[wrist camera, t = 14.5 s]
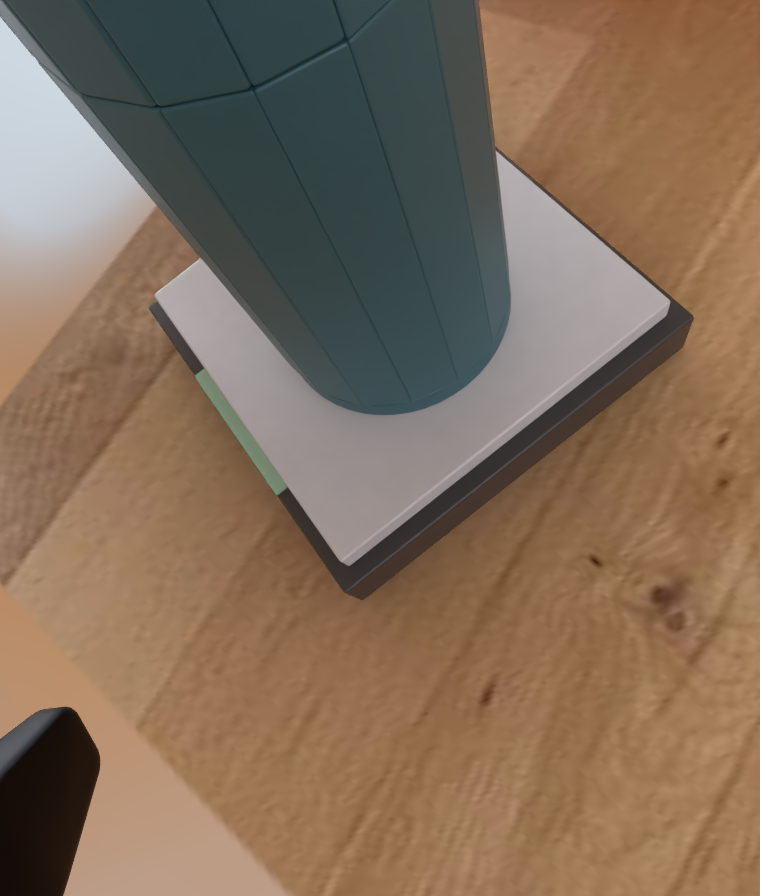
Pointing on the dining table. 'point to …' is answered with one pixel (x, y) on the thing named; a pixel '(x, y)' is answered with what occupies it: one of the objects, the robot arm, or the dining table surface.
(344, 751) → the dining table surface
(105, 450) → the dining table surface
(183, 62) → the jar
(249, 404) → the scale
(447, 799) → the dining table surface
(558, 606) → the dining table surface
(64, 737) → the robot arm
